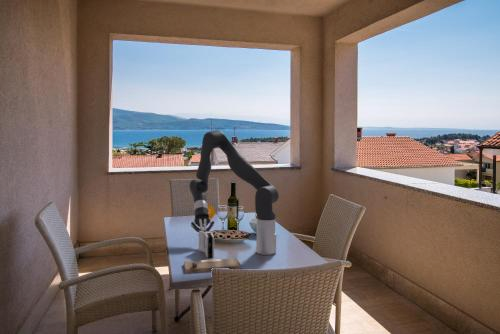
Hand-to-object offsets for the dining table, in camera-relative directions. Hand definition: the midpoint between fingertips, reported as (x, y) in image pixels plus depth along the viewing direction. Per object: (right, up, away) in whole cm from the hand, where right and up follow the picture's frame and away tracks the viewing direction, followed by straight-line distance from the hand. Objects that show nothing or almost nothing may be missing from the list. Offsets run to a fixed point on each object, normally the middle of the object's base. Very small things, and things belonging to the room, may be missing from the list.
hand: (204, 238), depth 194 cm
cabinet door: (+7, -7, -28) cm, 29 cm away
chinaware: (+31, -3, +30) cm, 43 cm away
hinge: (+2, -6, -9) cm, 11 cm away
